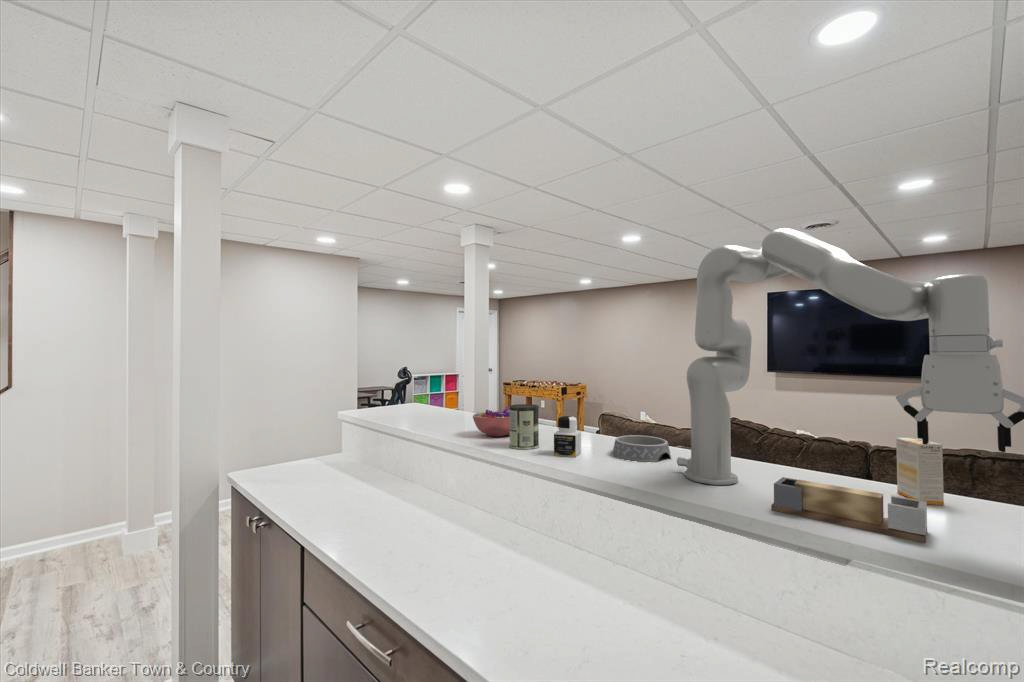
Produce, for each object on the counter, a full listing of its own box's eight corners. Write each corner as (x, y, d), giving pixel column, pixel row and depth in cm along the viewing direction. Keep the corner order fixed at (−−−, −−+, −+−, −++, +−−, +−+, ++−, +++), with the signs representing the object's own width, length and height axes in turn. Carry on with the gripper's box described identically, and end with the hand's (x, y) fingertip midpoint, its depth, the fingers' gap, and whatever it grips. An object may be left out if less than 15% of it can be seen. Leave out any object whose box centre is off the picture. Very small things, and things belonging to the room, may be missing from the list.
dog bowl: (681, 457, 145) (681, 440, 145) (646, 466, 134) (646, 447, 134) (636, 448, 159) (636, 432, 159) (601, 455, 147) (601, 438, 147)
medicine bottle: (553, 455, 146) (553, 417, 146) (559, 451, 153) (559, 414, 153) (575, 457, 143) (575, 418, 144) (581, 452, 150) (581, 415, 150)
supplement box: (945, 505, 99) (944, 444, 99) (919, 504, 100) (918, 443, 100) (919, 494, 107) (918, 437, 107) (896, 492, 108) (895, 436, 108)
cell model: (471, 432, 187) (471, 404, 188) (520, 431, 190) (520, 403, 190) (472, 440, 171) (473, 409, 171) (526, 439, 173) (526, 409, 173)
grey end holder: (773, 505, 96) (773, 483, 96) (782, 497, 101) (782, 477, 101) (801, 511, 93) (801, 488, 93) (809, 502, 98) (809, 481, 98)
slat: (794, 507, 95) (794, 482, 95) (798, 503, 97) (798, 479, 97) (881, 525, 85) (881, 498, 85) (883, 520, 88) (883, 493, 88)
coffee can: (527, 442, 167) (527, 403, 167) (544, 447, 158) (544, 406, 159) (503, 445, 161) (503, 405, 161) (520, 451, 153) (520, 408, 153)
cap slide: (888, 527, 83) (887, 504, 83) (891, 517, 88) (891, 495, 88) (925, 535, 80) (924, 510, 80) (927, 524, 85) (926, 501, 85)
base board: (771, 509, 96) (771, 504, 96) (780, 501, 101) (780, 497, 101) (925, 542, 80) (925, 537, 80) (927, 531, 85) (927, 526, 85)
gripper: (1031, 346, 76) (1035, 450, 76) (895, 347, 88) (898, 437, 88) (1037, 345, 71) (1041, 458, 71) (891, 347, 83) (894, 443, 83)
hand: (962, 446), depth 79 cm, fingers open, 9 cm apart
